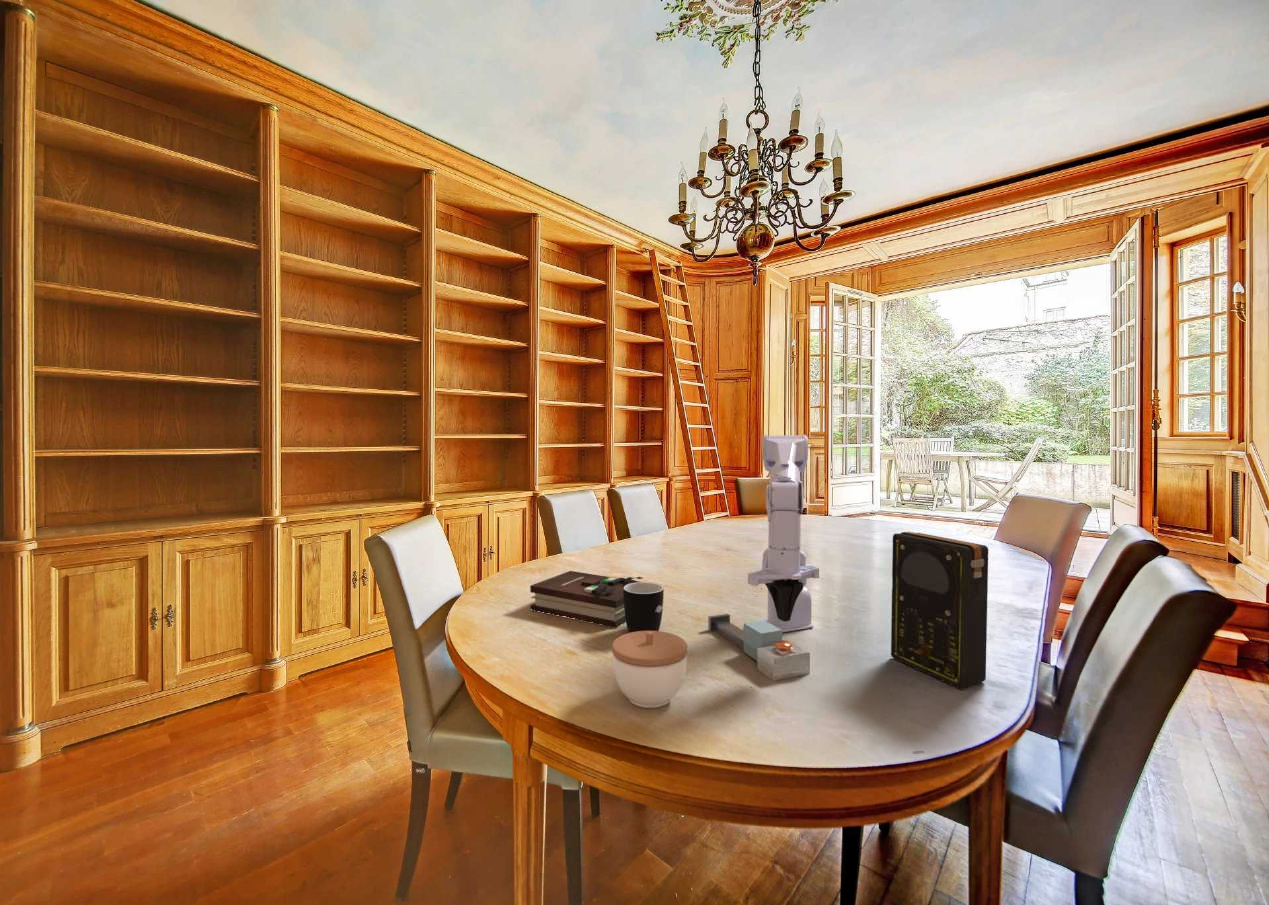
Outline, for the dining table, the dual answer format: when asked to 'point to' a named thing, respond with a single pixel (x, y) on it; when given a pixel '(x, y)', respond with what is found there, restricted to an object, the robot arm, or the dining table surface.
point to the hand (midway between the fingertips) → (783, 619)
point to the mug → (643, 606)
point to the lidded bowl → (649, 666)
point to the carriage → (759, 636)
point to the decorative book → (583, 597)
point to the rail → (726, 629)
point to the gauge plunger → (783, 646)
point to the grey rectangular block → (783, 662)
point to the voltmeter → (940, 607)
